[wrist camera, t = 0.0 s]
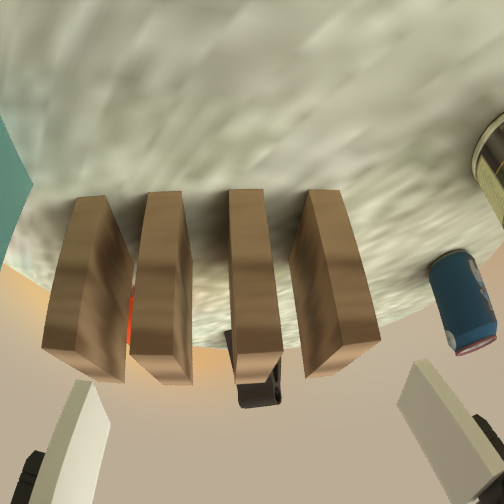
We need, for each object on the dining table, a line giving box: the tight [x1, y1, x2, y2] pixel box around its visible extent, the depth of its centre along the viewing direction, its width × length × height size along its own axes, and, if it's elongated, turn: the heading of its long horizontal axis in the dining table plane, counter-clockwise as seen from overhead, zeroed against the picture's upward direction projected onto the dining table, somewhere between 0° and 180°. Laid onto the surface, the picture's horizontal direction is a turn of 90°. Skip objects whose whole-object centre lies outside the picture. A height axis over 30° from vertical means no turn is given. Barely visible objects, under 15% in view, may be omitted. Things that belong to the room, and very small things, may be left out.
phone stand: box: [225, 330, 282, 409], centre depth 48 cm, size 9×6×12 cm, turn 26°
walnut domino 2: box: [130, 191, 193, 385], centre depth 24 cm, size 10×2×12 cm, turn 176°
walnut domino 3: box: [228, 189, 284, 384], centre depth 24 cm, size 10×2×12 cm, turn 176°
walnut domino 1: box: [41, 195, 134, 383], centre depth 23 cm, size 10×2×12 cm, turn 176°
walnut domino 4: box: [288, 190, 381, 379], centre depth 25 cm, size 10×2×12 cm, turn 176°
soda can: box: [429, 250, 497, 356], centre depth 33 cm, size 7×7×12 cm
